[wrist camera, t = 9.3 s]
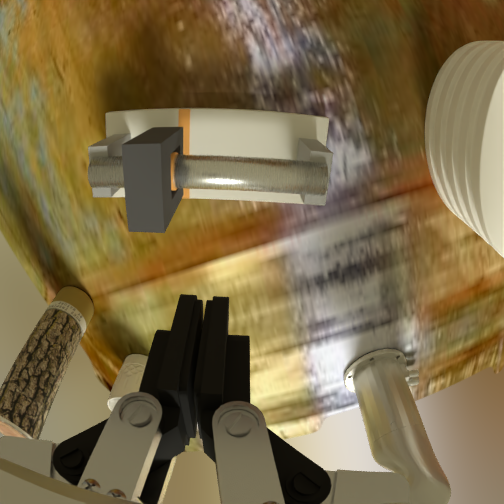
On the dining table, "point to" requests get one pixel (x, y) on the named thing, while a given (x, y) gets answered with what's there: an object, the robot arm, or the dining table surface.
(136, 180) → the collar
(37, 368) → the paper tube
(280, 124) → the pipe stand
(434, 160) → the plate stack
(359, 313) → the dining table surface
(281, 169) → the pipe
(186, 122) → the orange strap
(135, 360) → the white cup
